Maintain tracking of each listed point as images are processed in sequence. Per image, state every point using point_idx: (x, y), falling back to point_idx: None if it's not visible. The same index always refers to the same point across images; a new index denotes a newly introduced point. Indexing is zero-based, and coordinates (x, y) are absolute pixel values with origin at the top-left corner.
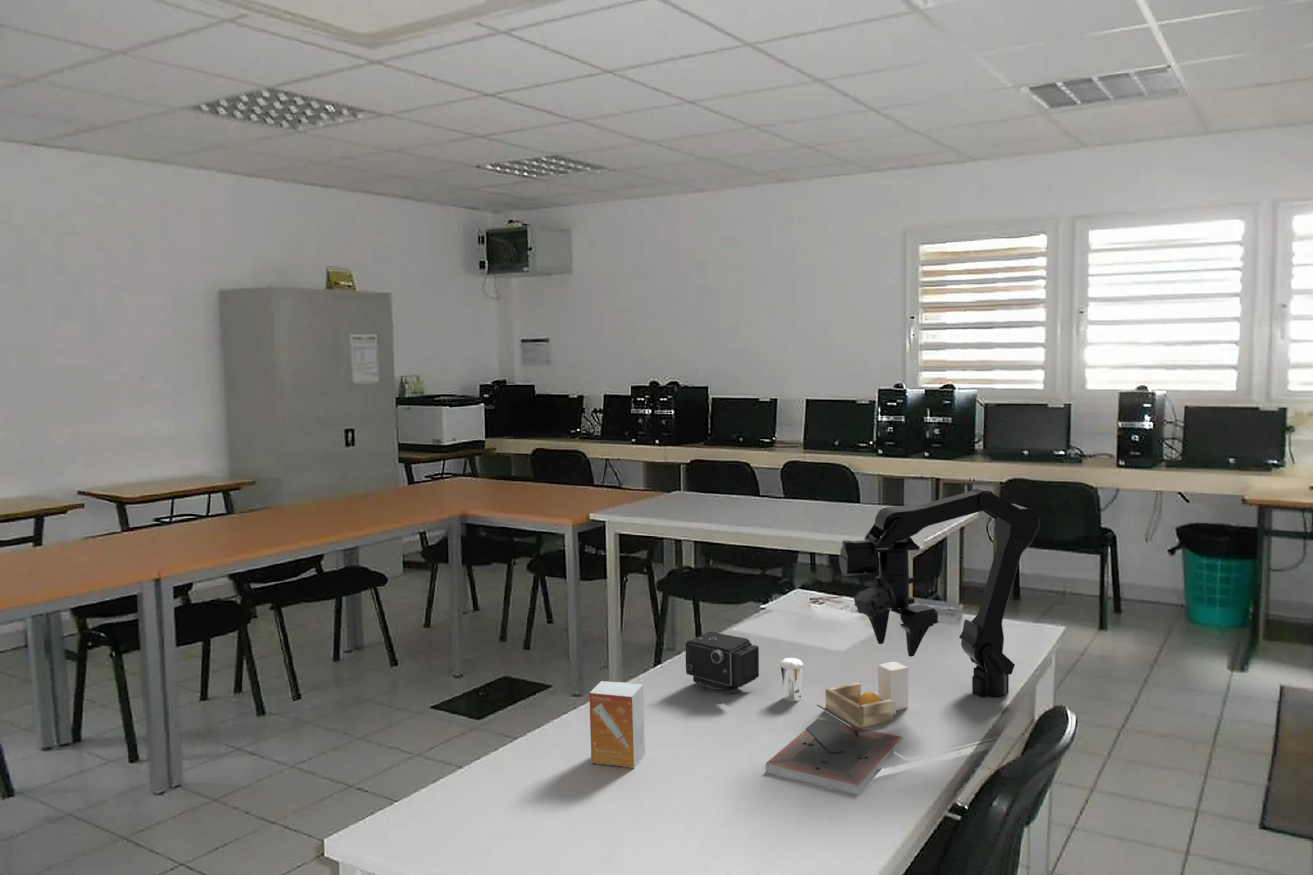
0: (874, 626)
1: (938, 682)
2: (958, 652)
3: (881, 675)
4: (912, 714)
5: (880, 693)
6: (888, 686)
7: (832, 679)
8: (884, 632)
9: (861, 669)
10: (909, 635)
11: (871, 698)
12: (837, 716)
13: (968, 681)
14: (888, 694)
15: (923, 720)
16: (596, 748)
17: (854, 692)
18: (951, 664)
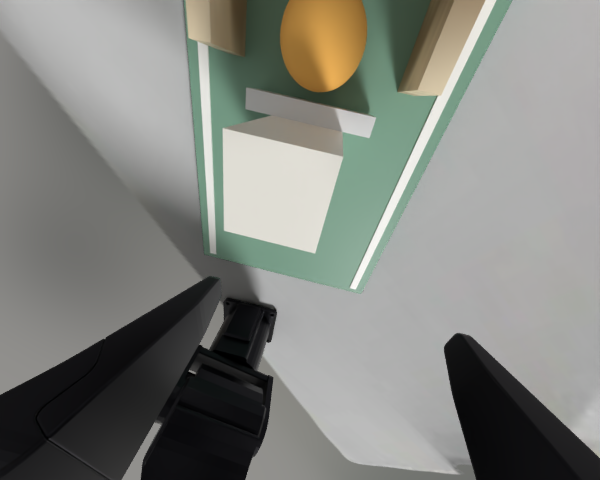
0: (588, 477)
1: (348, 327)
2: (395, 408)
3: (315, 139)
4: None
5: (329, 129)
6: (272, 123)
7: (595, 218)
8: (467, 419)
9: (527, 307)
10: (19, 401)
11: (290, 6)
12: None
13: (317, 348)
14: (281, 120)
15: None
16: None
17: (424, 51)
18: (377, 380)
